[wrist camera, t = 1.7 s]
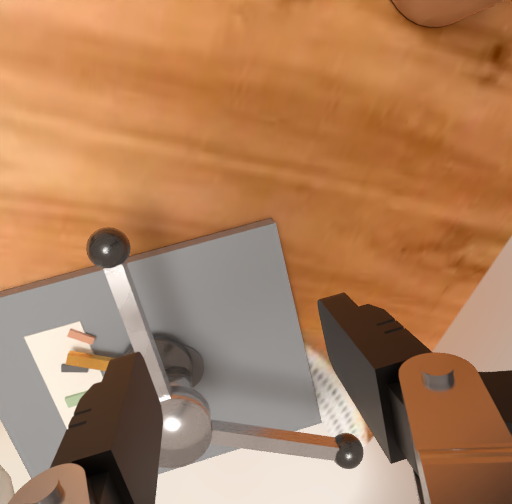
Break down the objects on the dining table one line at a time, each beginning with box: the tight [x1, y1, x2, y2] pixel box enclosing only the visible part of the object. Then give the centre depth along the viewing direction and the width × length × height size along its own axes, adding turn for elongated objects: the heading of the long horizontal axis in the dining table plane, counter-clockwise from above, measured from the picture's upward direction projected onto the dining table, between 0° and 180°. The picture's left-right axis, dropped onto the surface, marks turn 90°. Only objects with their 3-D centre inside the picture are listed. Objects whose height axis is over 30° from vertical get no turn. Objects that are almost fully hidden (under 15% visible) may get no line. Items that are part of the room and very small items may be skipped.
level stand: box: [0, 218, 322, 479], centre depth 35 cm, size 26×20×2 cm
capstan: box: [66, 227, 363, 469], centre depth 30 cm, size 23×25×8 cm
